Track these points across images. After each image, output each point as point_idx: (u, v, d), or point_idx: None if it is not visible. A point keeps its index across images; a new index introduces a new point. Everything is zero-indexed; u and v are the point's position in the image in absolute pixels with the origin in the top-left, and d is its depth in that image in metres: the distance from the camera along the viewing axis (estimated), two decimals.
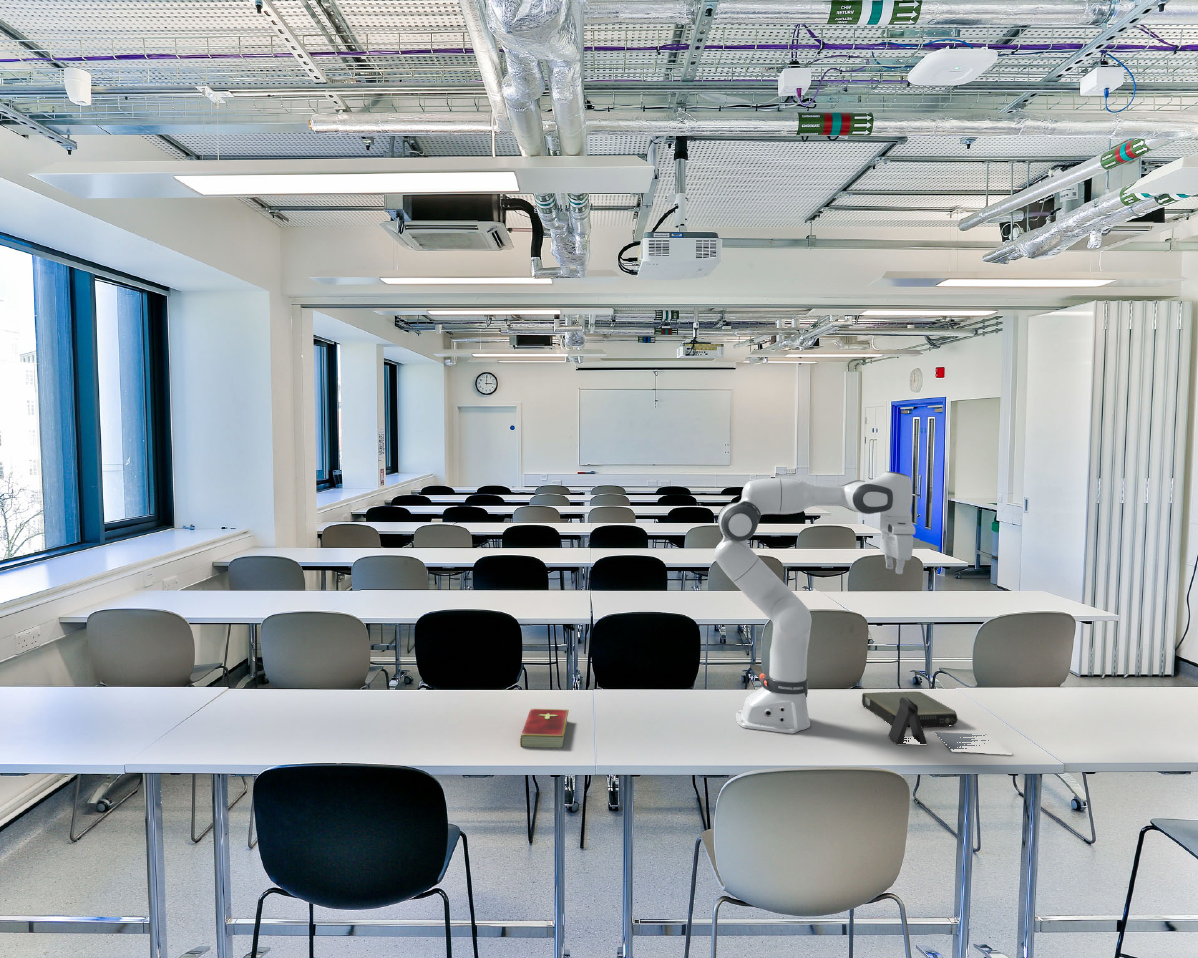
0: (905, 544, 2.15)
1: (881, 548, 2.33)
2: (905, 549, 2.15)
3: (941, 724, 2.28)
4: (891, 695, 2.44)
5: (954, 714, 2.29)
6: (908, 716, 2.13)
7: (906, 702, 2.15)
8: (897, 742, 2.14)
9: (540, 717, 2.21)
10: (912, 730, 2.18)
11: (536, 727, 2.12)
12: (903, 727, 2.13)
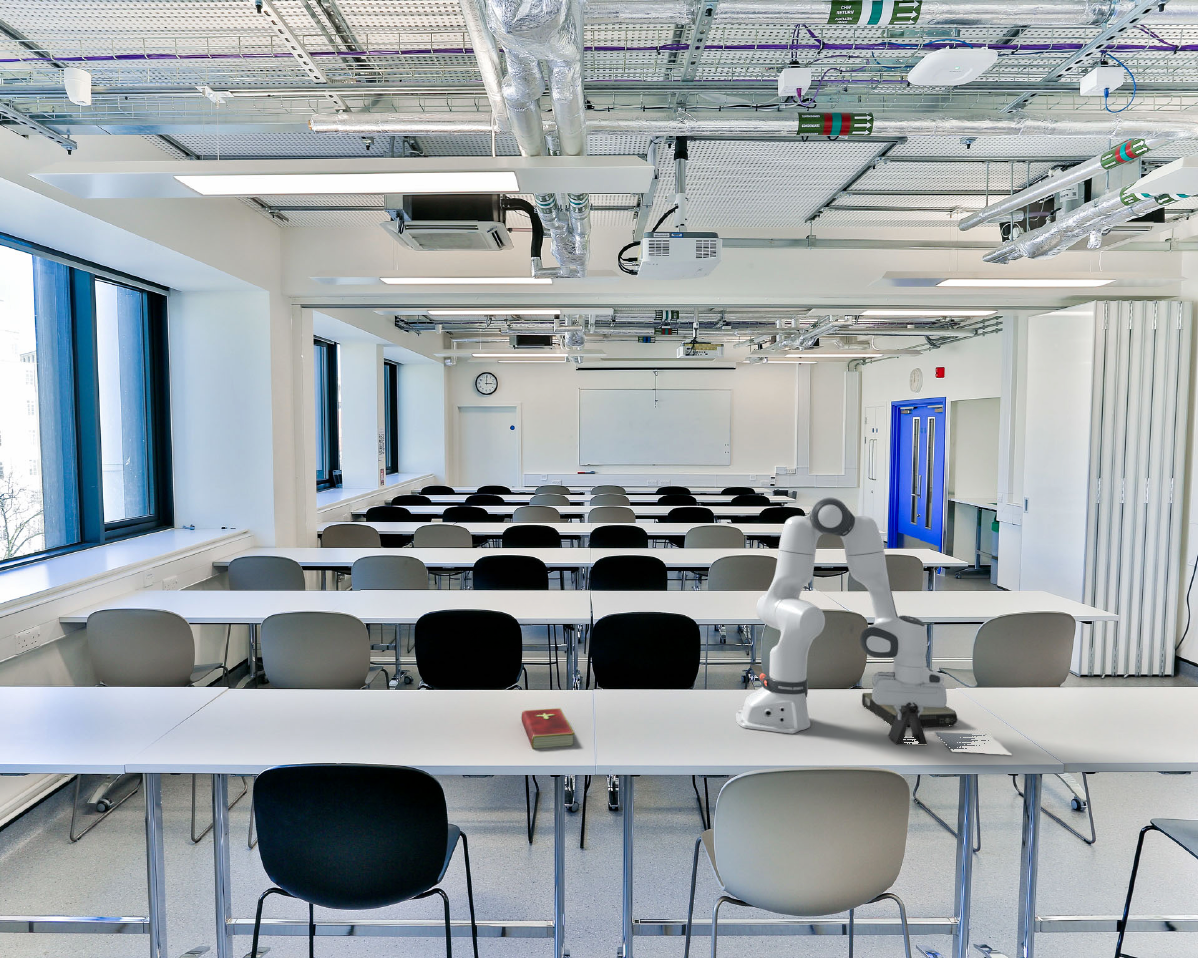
0: None
1: (883, 700, 2.15)
2: None
3: (941, 724, 2.28)
4: None
5: (954, 714, 2.28)
6: (908, 716, 2.13)
7: None
8: (897, 742, 2.14)
9: (538, 718, 2.20)
10: (912, 730, 2.18)
11: (543, 728, 2.12)
12: (903, 727, 2.13)
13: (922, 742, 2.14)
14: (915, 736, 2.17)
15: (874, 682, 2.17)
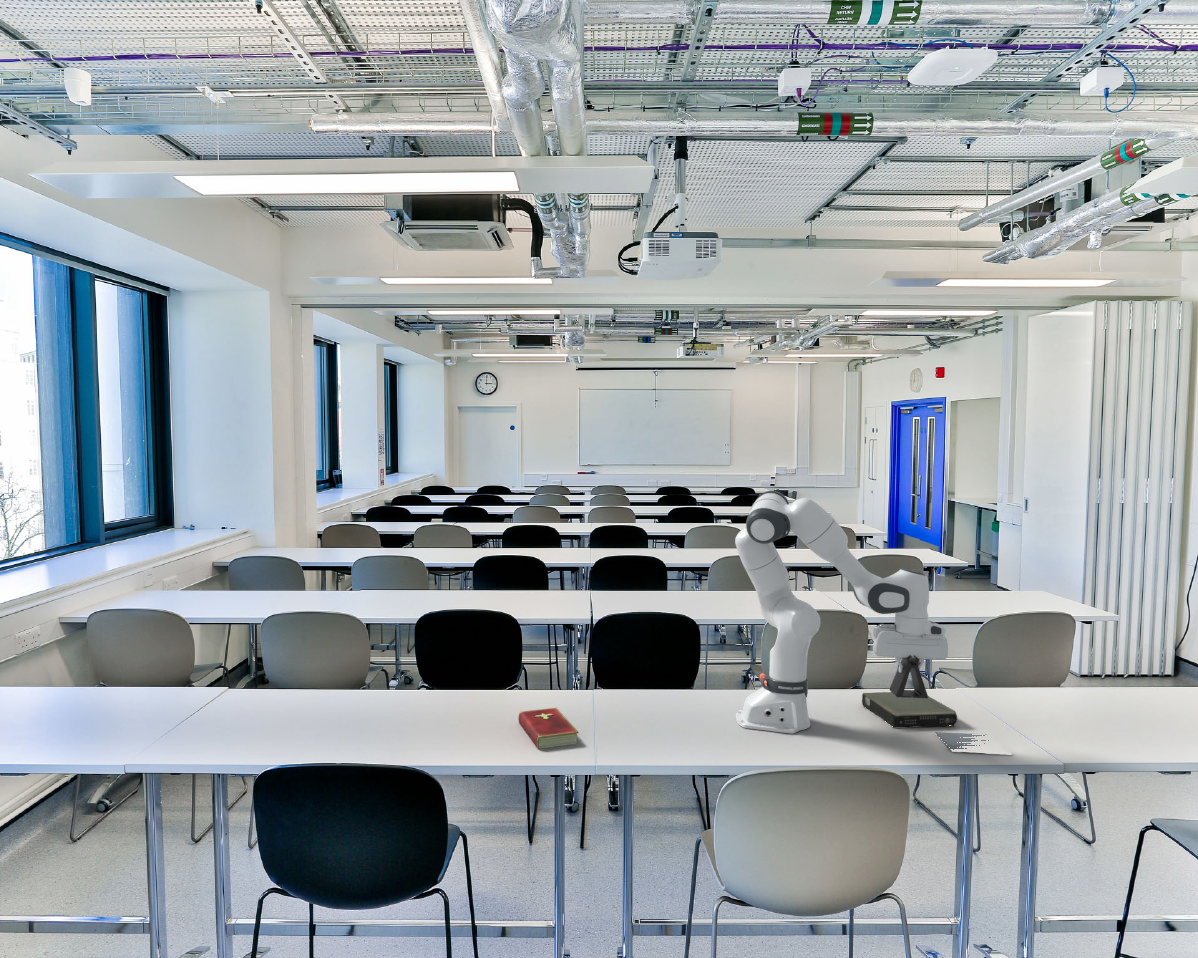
0: None
1: (884, 652, 2.15)
2: None
3: (941, 724, 2.28)
4: (891, 695, 2.44)
5: (954, 714, 2.28)
6: (908, 668, 2.13)
7: None
8: (897, 694, 2.13)
9: (538, 718, 2.20)
10: (914, 684, 2.18)
11: (545, 728, 2.12)
12: (903, 679, 2.13)
13: (923, 695, 2.13)
14: (916, 690, 2.16)
15: (875, 634, 2.16)
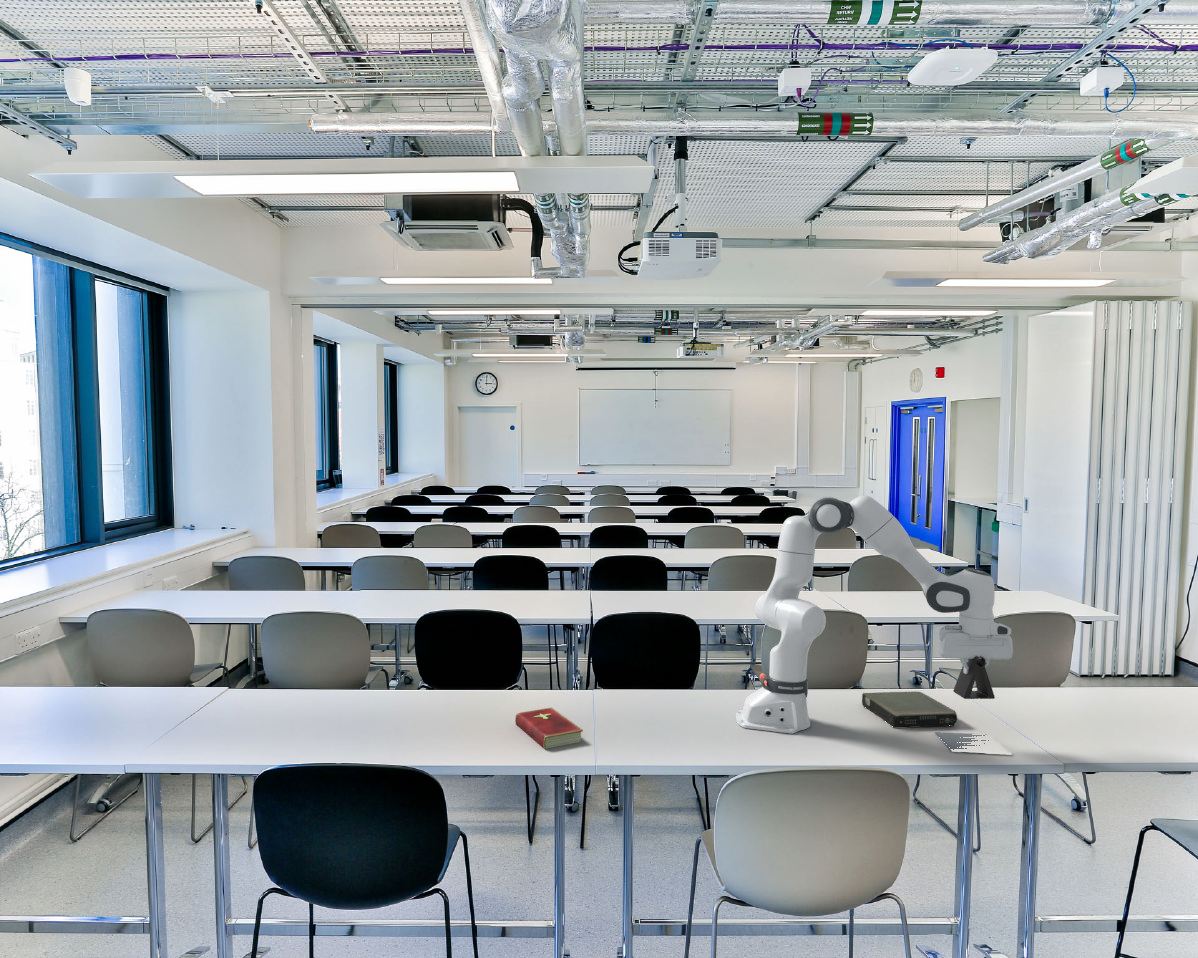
0: None
1: (951, 654, 2.12)
2: None
3: (941, 724, 2.28)
4: (891, 695, 2.44)
5: (954, 714, 2.28)
6: (976, 669, 2.11)
7: None
8: (965, 696, 2.11)
9: (537, 718, 2.20)
10: (977, 684, 2.16)
11: (549, 728, 2.12)
12: (971, 681, 2.11)
13: (990, 696, 2.12)
14: (981, 690, 2.15)
15: (941, 636, 2.13)
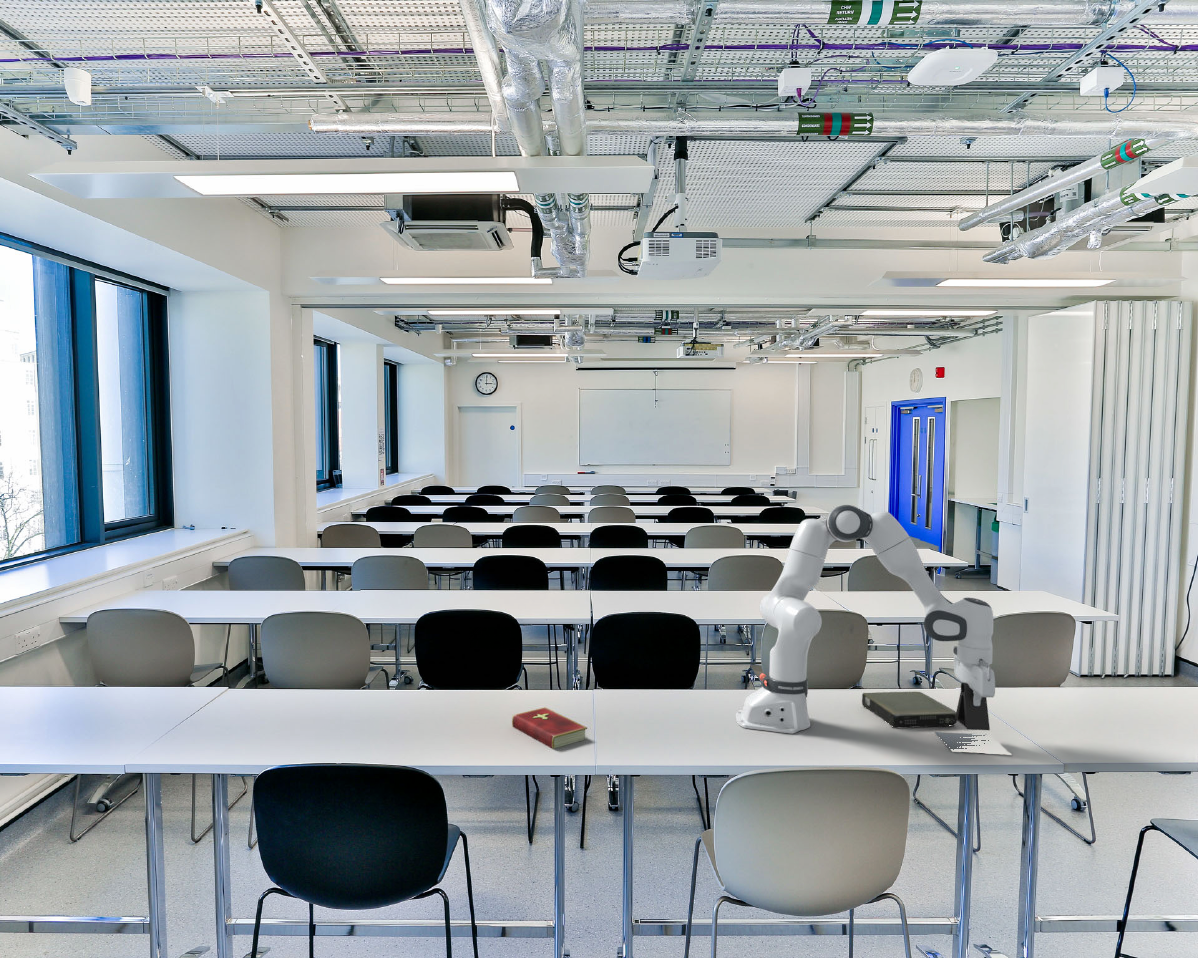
0: None
1: None
2: None
3: (941, 724, 2.28)
4: (891, 695, 2.44)
5: (954, 714, 2.28)
6: None
7: None
8: None
9: (537, 719, 2.19)
10: (962, 712, 2.17)
11: (553, 728, 2.12)
12: None
13: None
14: None
15: None
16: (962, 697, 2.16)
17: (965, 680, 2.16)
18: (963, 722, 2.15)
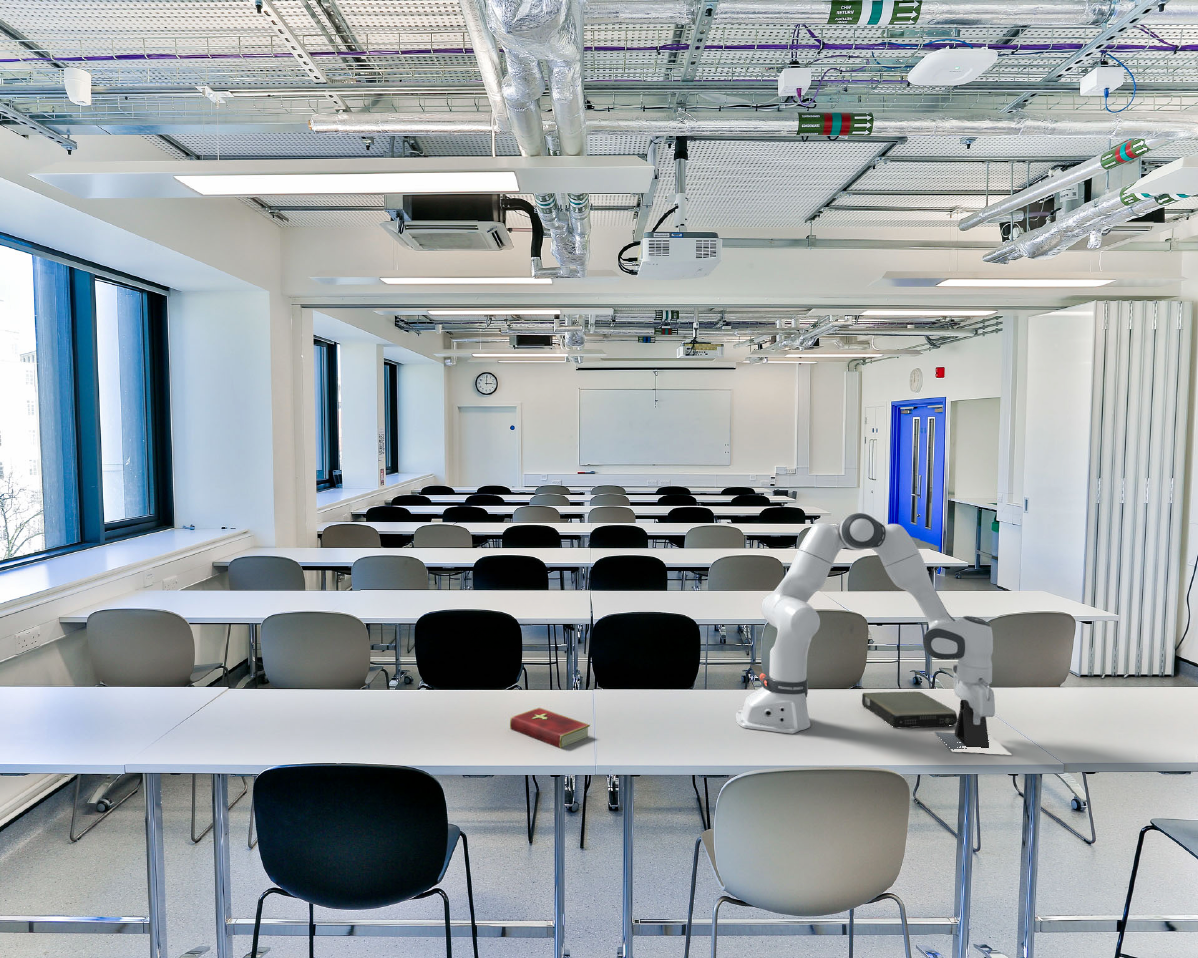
0: None
1: None
2: None
3: (941, 724, 2.28)
4: (891, 695, 2.44)
5: (954, 714, 2.28)
6: None
7: None
8: None
9: (537, 719, 2.19)
10: (962, 729, 2.17)
11: (557, 727, 2.13)
12: None
13: None
14: None
15: None
16: (961, 714, 2.16)
17: (965, 699, 2.16)
18: (962, 739, 2.15)
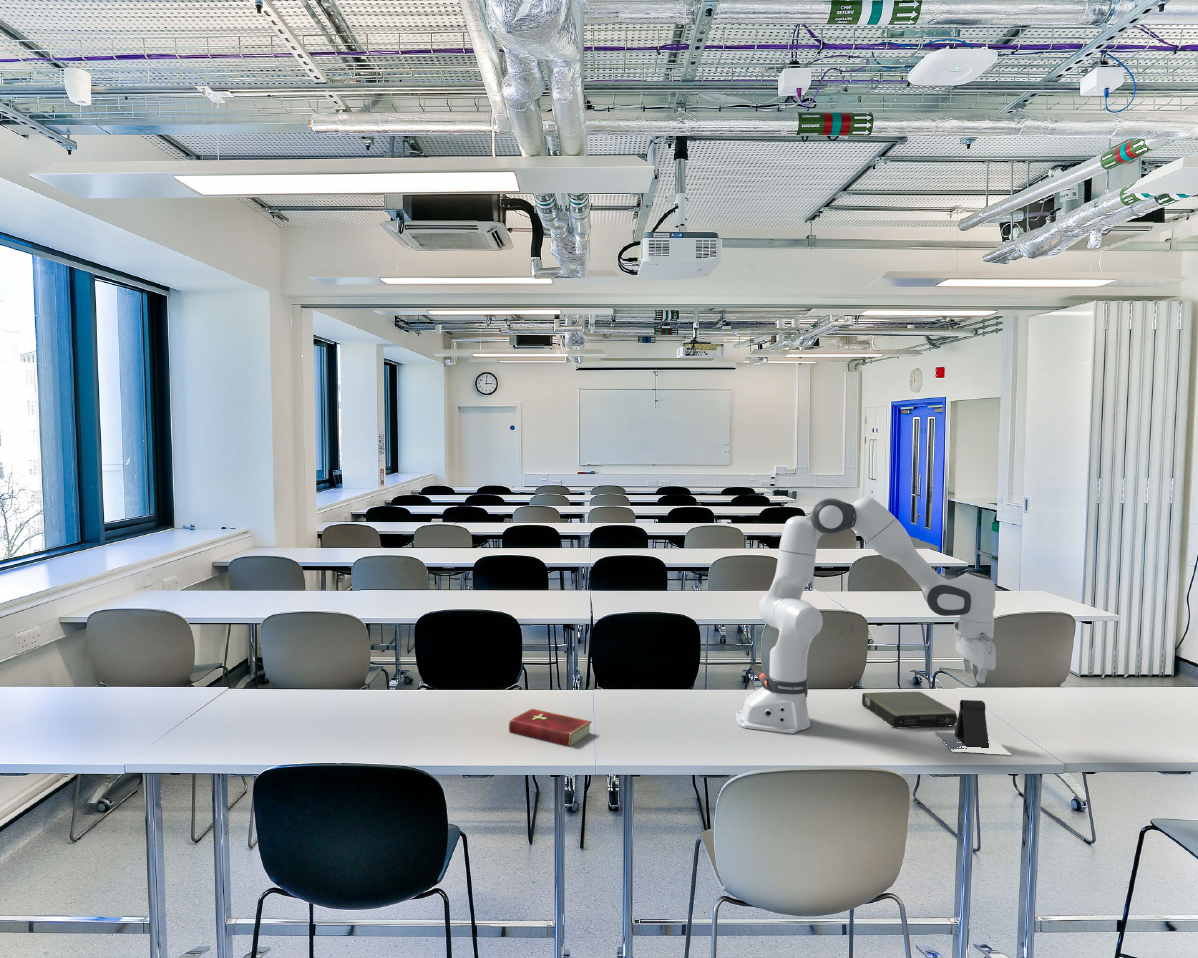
0: None
1: None
2: None
3: (941, 724, 2.28)
4: (891, 695, 2.44)
5: (954, 714, 2.28)
6: None
7: (977, 703, 2.14)
8: None
9: (537, 720, 2.18)
10: (962, 730, 2.17)
11: (561, 726, 2.14)
12: None
13: None
14: None
15: None
16: (961, 714, 2.16)
17: (966, 655, 2.15)
18: (962, 740, 2.15)
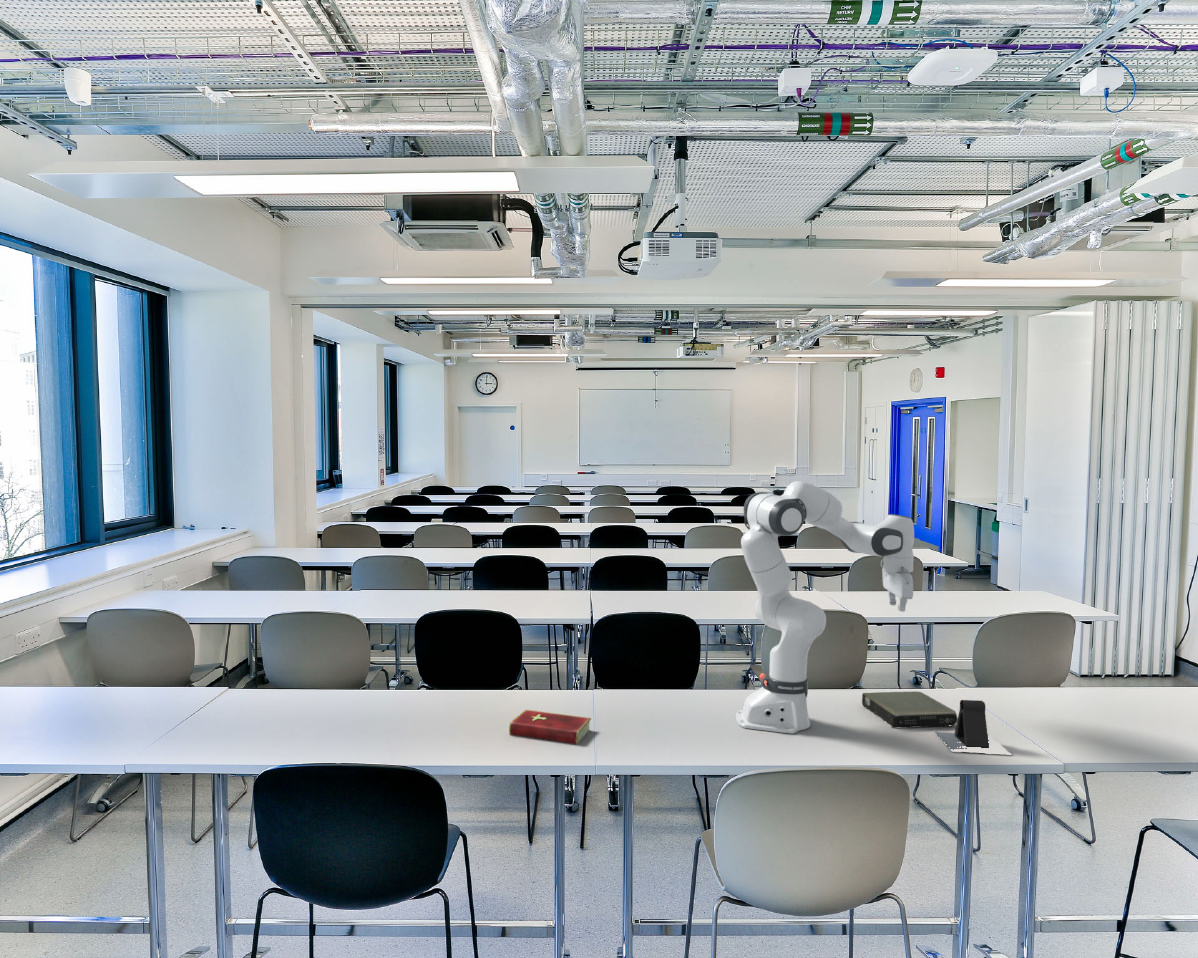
0: None
1: None
2: None
3: (941, 724, 2.28)
4: (891, 695, 2.44)
5: (954, 714, 2.28)
6: None
7: (977, 703, 2.14)
8: None
9: (538, 721, 2.18)
10: (962, 730, 2.17)
11: (565, 725, 2.15)
12: None
13: None
14: None
15: None
16: (961, 714, 2.16)
17: (890, 588, 2.40)
18: (962, 740, 2.15)
